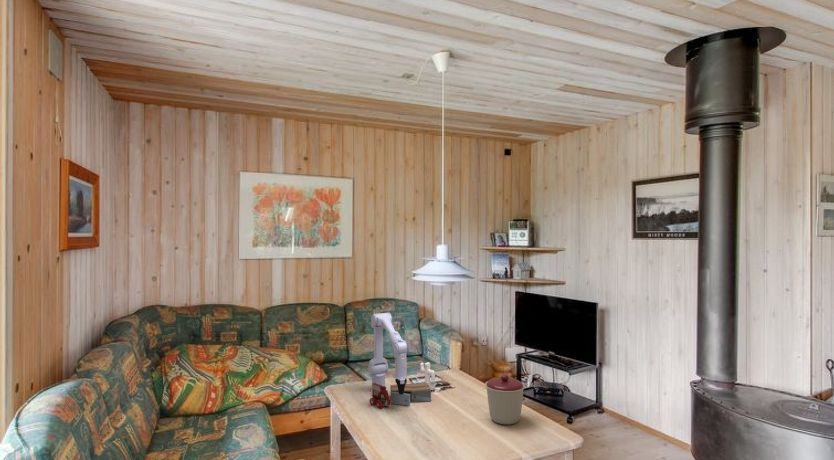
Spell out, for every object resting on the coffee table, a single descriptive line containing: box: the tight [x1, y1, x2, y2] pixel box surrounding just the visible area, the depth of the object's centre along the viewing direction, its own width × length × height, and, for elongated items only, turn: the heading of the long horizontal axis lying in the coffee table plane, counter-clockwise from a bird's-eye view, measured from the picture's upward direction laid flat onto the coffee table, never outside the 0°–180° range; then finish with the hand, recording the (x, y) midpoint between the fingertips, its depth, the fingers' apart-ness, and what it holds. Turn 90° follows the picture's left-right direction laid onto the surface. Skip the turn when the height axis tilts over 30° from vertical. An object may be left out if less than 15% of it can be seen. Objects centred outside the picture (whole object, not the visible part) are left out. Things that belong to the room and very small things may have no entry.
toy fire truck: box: [369, 383, 392, 410], centre depth 234 cm, size 7×12×10 cm, turn 44°
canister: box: [484, 373, 526, 426], centre depth 214 cm, size 18×18×21 cm
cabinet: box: [389, 382, 432, 403], centre depth 242 cm, size 12×20×6 cm, turn 97°
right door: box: [391, 392, 411, 407], centre depth 234 cm, size 2×10×6 cm, turn 67°
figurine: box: [419, 361, 438, 391], centre depth 256 cm, size 7×9×15 cm
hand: (401, 394), depth 230 cm, fingers closed
